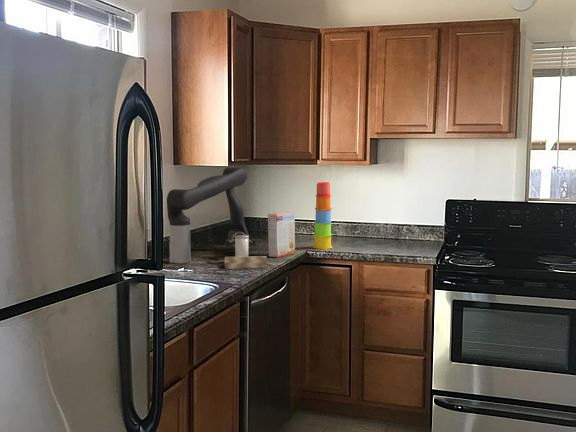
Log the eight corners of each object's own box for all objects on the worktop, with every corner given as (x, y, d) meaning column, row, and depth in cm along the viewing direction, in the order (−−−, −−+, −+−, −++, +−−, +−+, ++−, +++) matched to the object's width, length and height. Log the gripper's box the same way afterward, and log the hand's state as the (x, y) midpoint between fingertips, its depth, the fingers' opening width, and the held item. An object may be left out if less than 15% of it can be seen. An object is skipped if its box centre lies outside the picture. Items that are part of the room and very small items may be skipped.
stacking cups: (335, 247, 329) (336, 182, 325) (326, 249, 320) (326, 182, 317) (319, 245, 334) (319, 181, 331) (309, 248, 326) (309, 182, 323)
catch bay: (224, 268, 267) (224, 257, 267) (224, 264, 278) (224, 253, 278) (266, 267, 269) (266, 256, 269) (264, 263, 280) (264, 252, 280)
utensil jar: (235, 263, 281) (234, 236, 280) (234, 260, 288) (234, 235, 286) (249, 262, 282) (249, 236, 281) (248, 260, 288) (248, 234, 287)
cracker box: (286, 253, 310) (286, 211, 308) (295, 254, 306) (295, 212, 304) (267, 256, 299) (267, 213, 297) (277, 257, 296) (277, 214, 294)
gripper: (225, 232, 305) (225, 237, 289) (254, 232, 306) (256, 236, 290) (225, 247, 305) (226, 252, 289) (254, 247, 307) (256, 252, 291)
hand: (241, 244), depth 290 cm, fingers open, 8 cm apart
